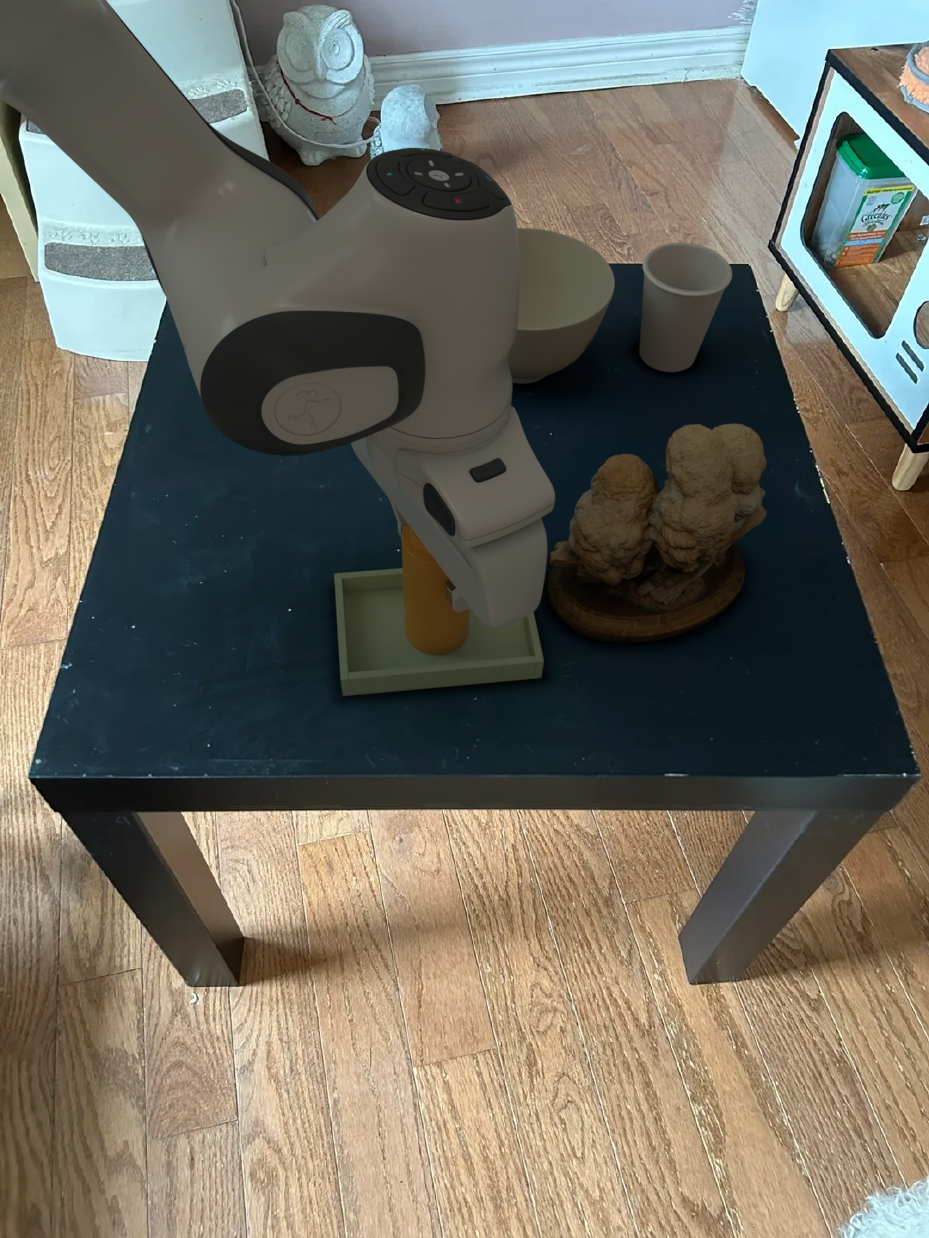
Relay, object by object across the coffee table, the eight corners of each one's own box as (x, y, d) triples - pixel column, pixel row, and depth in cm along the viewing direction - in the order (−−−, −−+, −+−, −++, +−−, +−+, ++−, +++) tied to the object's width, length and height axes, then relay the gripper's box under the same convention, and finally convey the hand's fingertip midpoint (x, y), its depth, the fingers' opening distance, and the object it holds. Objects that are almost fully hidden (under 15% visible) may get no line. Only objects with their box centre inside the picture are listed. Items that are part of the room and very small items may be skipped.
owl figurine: (705, 504, 86) (756, 346, 72) (779, 602, 79) (852, 448, 66) (520, 561, 81) (539, 403, 67) (584, 669, 75) (618, 519, 61)
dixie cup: (623, 327, 101) (640, 239, 93) (703, 330, 101) (727, 243, 93) (628, 378, 96) (646, 291, 88) (712, 383, 96) (738, 295, 88)
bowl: (547, 440, 90) (558, 352, 82) (408, 375, 95) (406, 287, 87) (627, 352, 98) (645, 265, 90) (496, 297, 103) (501, 209, 95)
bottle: (424, 665, 74) (423, 528, 62) (393, 620, 76) (386, 479, 64) (480, 639, 76) (489, 500, 63) (447, 595, 78) (451, 454, 66)
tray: (342, 696, 73) (340, 679, 71) (336, 591, 79) (334, 573, 77) (541, 678, 74) (544, 661, 72) (520, 576, 80) (522, 558, 78)
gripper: (316, 347, 63) (333, 495, 74) (479, 552, 53) (471, 689, 64) (401, 319, 65) (405, 467, 76) (573, 511, 55) (550, 650, 66)
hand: (436, 570), depth 70 cm, fingers open, 6 cm apart
